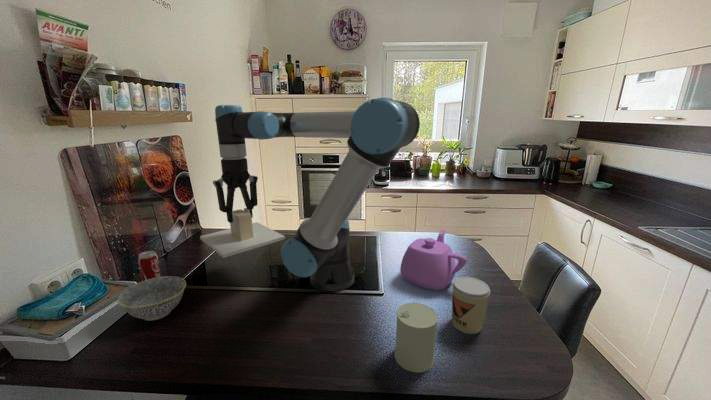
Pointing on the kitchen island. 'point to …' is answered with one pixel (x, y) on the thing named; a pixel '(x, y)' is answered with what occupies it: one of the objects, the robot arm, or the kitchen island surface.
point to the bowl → (153, 297)
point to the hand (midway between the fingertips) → (241, 229)
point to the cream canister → (469, 304)
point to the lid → (241, 236)
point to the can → (415, 337)
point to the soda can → (149, 265)
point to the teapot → (430, 263)
